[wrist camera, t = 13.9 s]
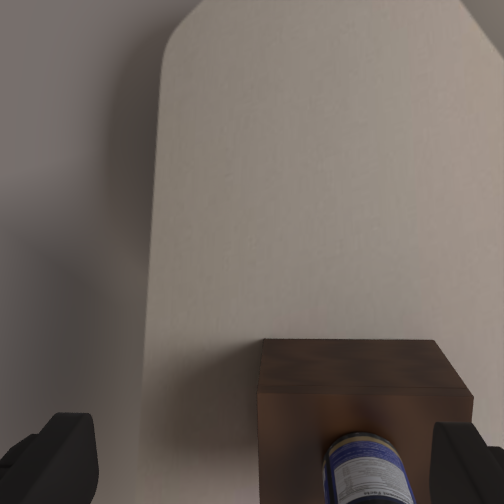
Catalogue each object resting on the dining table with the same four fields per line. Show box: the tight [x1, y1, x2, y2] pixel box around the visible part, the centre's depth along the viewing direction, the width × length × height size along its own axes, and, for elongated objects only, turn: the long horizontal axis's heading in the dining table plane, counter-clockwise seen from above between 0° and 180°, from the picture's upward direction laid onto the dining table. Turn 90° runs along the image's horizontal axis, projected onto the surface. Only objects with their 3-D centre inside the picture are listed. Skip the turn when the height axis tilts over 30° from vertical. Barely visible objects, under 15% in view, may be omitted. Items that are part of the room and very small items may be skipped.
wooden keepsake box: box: [257, 339, 474, 504], centre depth 42 cm, size 16×12×10 cm
